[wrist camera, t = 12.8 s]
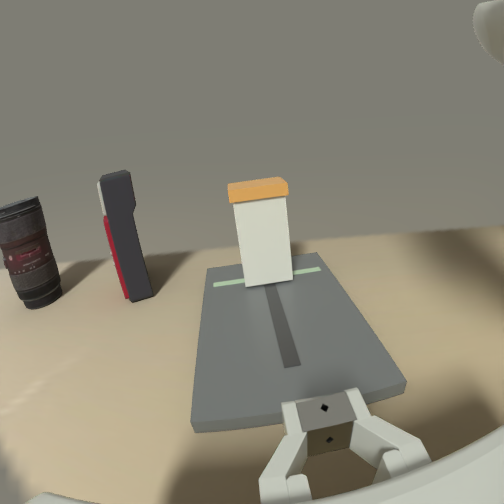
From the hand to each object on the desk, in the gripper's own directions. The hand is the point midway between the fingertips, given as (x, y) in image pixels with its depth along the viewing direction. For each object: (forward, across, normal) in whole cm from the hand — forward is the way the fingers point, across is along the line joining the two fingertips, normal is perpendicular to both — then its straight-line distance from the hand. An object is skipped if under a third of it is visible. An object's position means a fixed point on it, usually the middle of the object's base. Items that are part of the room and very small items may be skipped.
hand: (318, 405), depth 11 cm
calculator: (+30, +17, +7) cm, 35 cm away
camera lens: (+29, +33, +7) cm, 44 cm away
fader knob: (+24, 0, +5) cm, 24 cm away
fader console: (+17, 0, +7) cm, 18 cm away
